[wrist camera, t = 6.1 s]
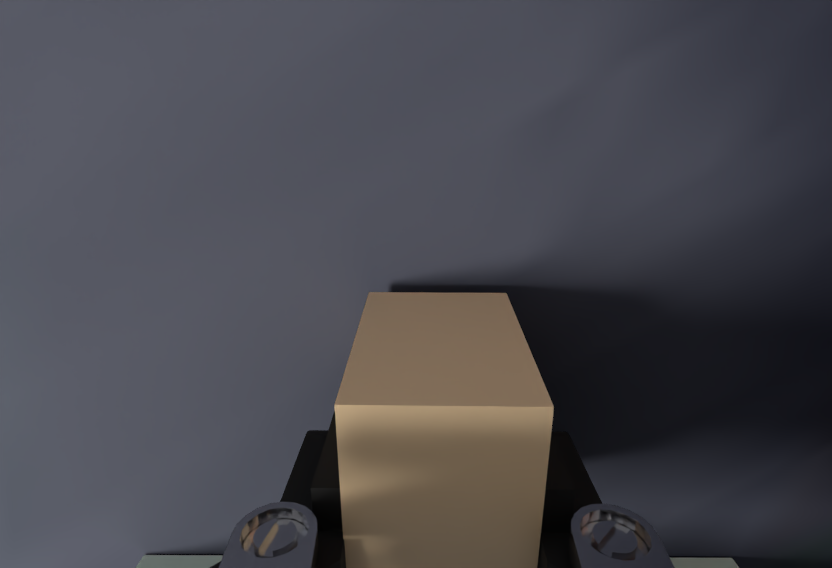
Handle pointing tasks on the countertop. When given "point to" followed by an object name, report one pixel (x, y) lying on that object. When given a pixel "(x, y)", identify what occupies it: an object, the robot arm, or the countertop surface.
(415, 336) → the plug
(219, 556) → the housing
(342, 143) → the countertop surface
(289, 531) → the robot arm
